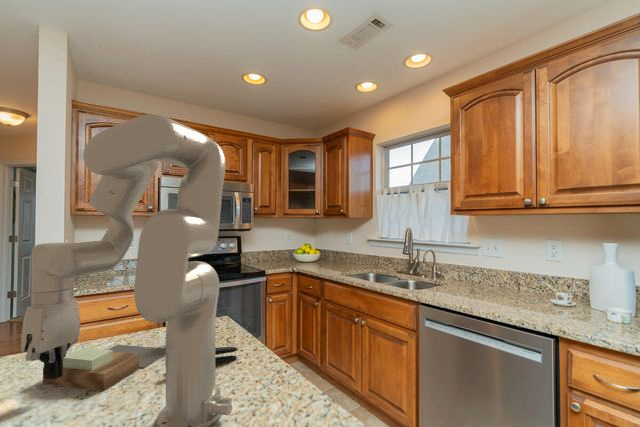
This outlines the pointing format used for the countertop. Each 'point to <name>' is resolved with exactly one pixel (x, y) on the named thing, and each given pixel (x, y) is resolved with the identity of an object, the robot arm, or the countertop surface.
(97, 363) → the pale green flat block
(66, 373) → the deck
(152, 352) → the mat
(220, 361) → the can opener
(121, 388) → the countertop surface
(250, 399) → the countertop surface
